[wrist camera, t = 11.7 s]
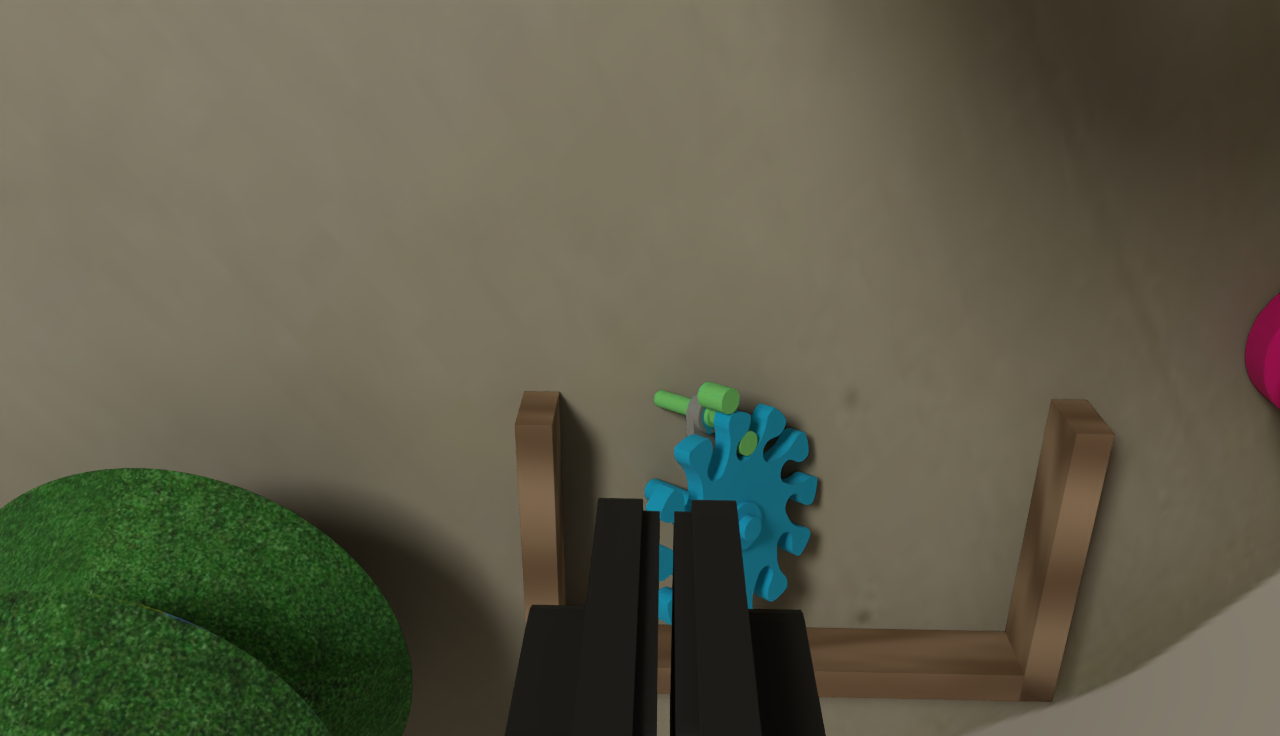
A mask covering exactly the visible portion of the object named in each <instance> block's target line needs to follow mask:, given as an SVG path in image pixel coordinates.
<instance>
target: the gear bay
mask: <svg viewBox="0 0 1280 736" xmlns="http://www.w3.org/2000/svg"><path fill="white" fill-rule="evenodd" d="M1114 436H1115V434H1114V433H1113V432H1112V431H1111V429H1110V428H1109V427H1108V426H1107V424H1106V423H1105V422H1104V421H1103V419H1102V418H1101V417H1100V416H1099V414H1098V413H1097V412H1096V411H1095V409H1094V408H1093V407H1092V406H1091V404H1090V403H1089V402H1088V401H1087V400H1052V399H1051V404H1050V409H1049V414H1048V419H1047V424H1046V429H1045V434H1044V439H1043V444H1042V449H1041V454H1040V459H1039V464H1038V469H1037V474H1036V479H1035V484H1034V489H1033V494H1032V499H1031V504H1030V509H1029V514H1028V519H1027V524H1026V529H1025V534H1024V539H1023V544H1022V549H1021V554H1020V559H1019V564H1018V569H1017V574H1016V579H1015V584H1014V589H1013V594H1012V599H1011V604H1010V609H1009V614H1008V619H1007V624H1006V629H1005V632H994V631H945V630H896V629H847V628H806V630H807V636H808V641H809V647H810V652H811V658H812V663H813V669H814V674H815V680H816V685H817V691H818V696H819V697H856V698H902V699H947V700H993V701H1039V702H1052V701H1053V696H1054V692H1055V688H1056V684H1057V679H1058V675H1059V671H1060V666H1061V662H1062V658H1063V654H1064V649H1065V645H1066V641H1067V637H1068V632H1069V628H1070V624H1071V619H1072V615H1073V611H1074V607H1075V602H1076V598H1077V594H1078V589H1079V585H1080V581H1081V577H1082V572H1083V568H1084V564H1085V560H1086V555H1087V551H1088V547H1089V542H1090V538H1091V534H1092V530H1093V525H1094V521H1095V517H1096V513H1097V508H1098V504H1099V500H1100V495H1101V491H1102V487H1103V483H1104V478H1105V474H1106V470H1107V465H1108V461H1109V457H1110V453H1111V448H1112V444H1113V440H1114ZM515 438H516V456H517V474H518V492H519V510H520V528H521V546H522V564H523V582H524V600H525V618H526V623H527V618H528V614H529V610H530V607H531V606H532V605H566V582H565V553H564V523H563V493H562V464H561V434H560V404H559V392H535V391H524V394H523V398H522V401H521V405H520V408H519V412H518V415H517V419H516V422H515ZM671 630H672V625H658V675H657V693H670V675H671Z"/></svg>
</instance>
